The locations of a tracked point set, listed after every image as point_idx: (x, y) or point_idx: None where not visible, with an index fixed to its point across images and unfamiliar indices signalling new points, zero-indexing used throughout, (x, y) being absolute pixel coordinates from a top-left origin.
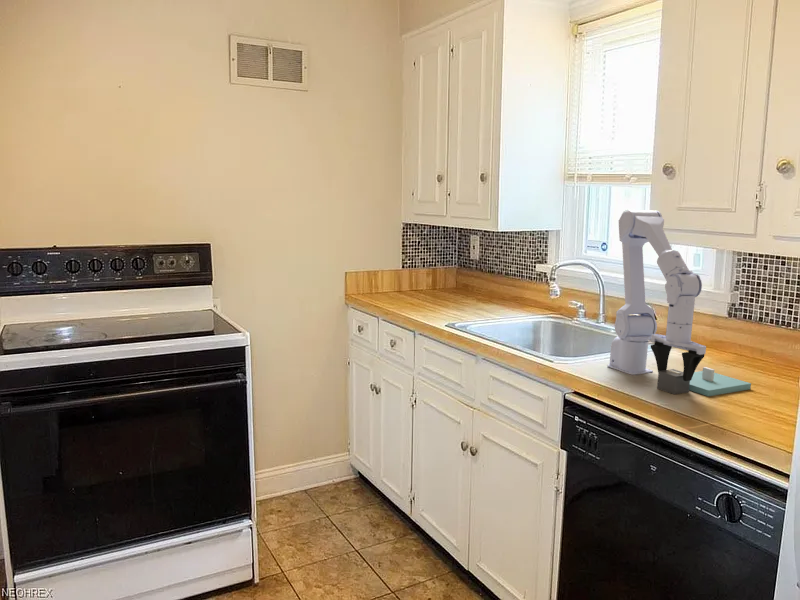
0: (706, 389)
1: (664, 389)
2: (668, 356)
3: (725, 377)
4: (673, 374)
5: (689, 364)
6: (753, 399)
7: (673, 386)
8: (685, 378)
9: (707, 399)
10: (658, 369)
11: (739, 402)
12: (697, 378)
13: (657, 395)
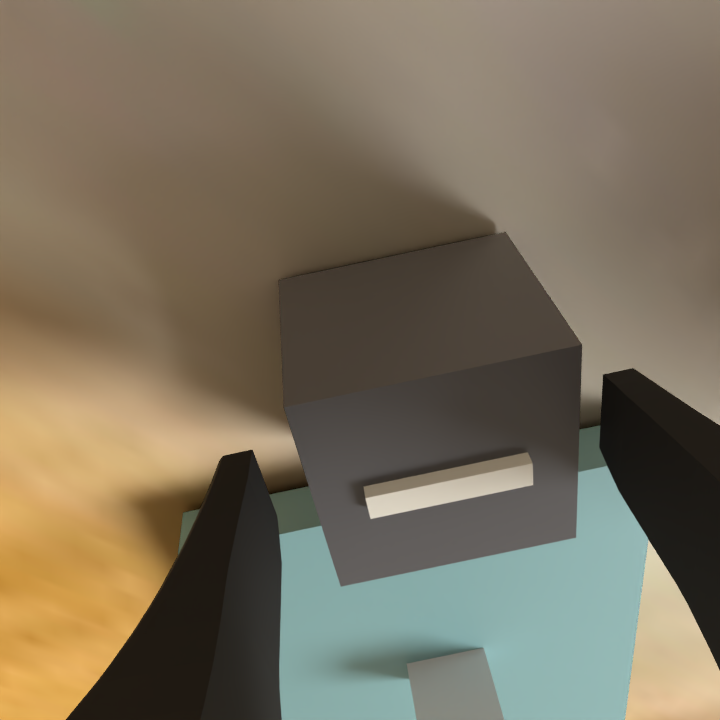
0: None
1: (408, 260)
2: (705, 635)
3: None
4: (381, 430)
5: (116, 667)
6: None
7: (301, 321)
8: (214, 474)
9: (126, 476)
10: (643, 387)
11: (49, 620)
12: (498, 628)
13: (301, 78)
